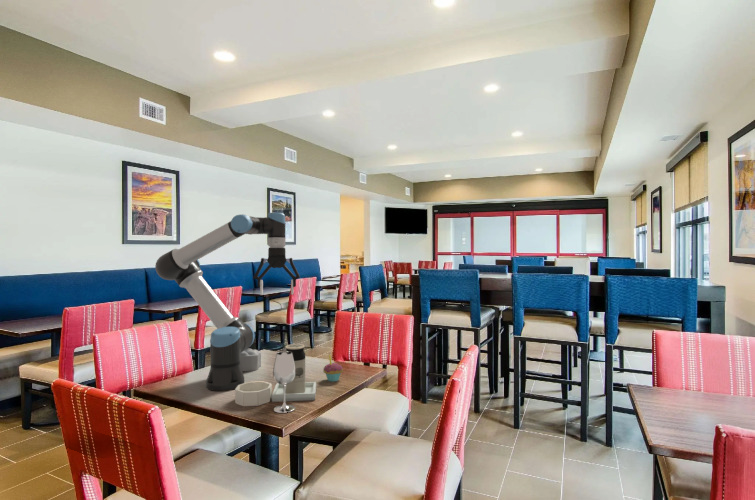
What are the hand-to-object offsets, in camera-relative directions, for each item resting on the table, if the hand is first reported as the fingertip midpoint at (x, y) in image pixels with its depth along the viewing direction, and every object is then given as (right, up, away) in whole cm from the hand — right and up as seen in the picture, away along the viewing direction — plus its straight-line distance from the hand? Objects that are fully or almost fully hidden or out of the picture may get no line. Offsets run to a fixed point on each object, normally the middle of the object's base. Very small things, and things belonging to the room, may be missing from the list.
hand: (277, 294), depth 187 cm
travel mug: (+13, -36, -24) cm, 45 cm away
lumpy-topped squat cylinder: (-18, -37, +13) cm, 43 cm away
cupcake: (+26, -37, -5) cm, 45 cm away
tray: (+13, -37, -24) cm, 46 cm away
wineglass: (+12, -37, -39) cm, 55 cm away
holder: (-2, -37, -29) cm, 47 cm away
